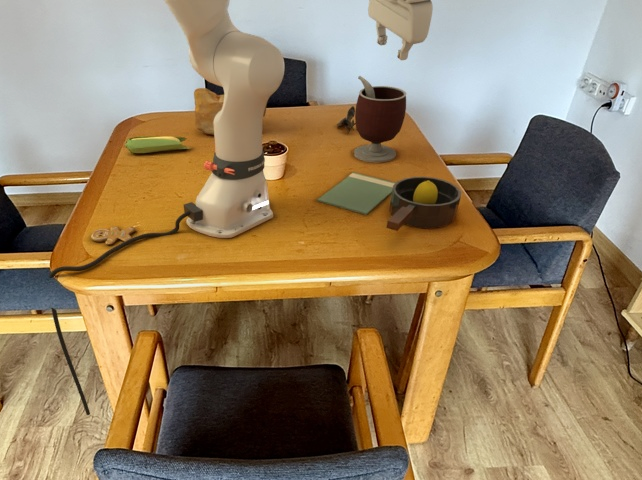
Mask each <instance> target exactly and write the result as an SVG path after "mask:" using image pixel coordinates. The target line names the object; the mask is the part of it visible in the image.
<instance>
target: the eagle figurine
mask: <svg viewBox="0 0 642 480" xmlns="http://www.w3.org/2000/svg"><path fill="white" fill-rule="evenodd" d="M355 111H356V107H355V106H351V107H350V108H349V109H348V111H347V114H346V116H344V117H343V118H341V120H339V122H338V123H336V126H337V127H338V126H344V127H345V129H347V132H346V134H347V135H349V133H350V132H351V131H352V130H353V131H354V130H355V128H354V127H355V126H356V124H355V119H354V118H355Z"/></svg>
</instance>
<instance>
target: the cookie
mask: <svg viewBox="0 0 642 480" xmlns="http://www.w3.org/2000/svg"><path fill="white" fill-rule="evenodd" d="M135 232H136V228H135V227H132V226H130V227H127V228H124V229H122V230H120V228H119V227H118V226H115V225H114V226H111V227H110V229H106V228H100V229H97V230H94V232H92V233H91V240H92V241H93V242H96V243H103V242H105V244H106V245H107V246H112V245H113V244H115V243H116V242H117V241H118V240H121V241H122V242H125V241H127V240H129V239H131V238H133V236H131V235H132V234H134V233H135Z"/></svg>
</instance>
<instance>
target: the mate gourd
mask: <svg viewBox="0 0 642 480" xmlns="http://www.w3.org/2000/svg"><path fill="white" fill-rule="evenodd" d="M357 78H358V80H360V81H361V83H362V85H363V88H362V89H360V90H359V92H358V97H357V100H356V104H355V115H354V123H355V124H356V125H355V130H356V131H357V133H358V135H359V136H360V138H361V139H363V140H365V141H367V142H370V144H364V145H360V146H358V147H356V148H355V149H354V150H353V155H354V157H355V158H356V159H357V160H360V161H363V162H367V163H376V164H377V163H386V162H390V161H392V160H394V159H395V158H396V155H397V152H396V150H395V149H394V148H392V147H389V146H388V145H382V144H383V143H385V142H390V141H392V140H393V139H394V138H395V137H396V136H397V135H398V134H399V133H400V132H401V130H402V127H403V124H404V121H405V117H406V111H407V92H406V91H405V90H404V89H402V88H399V87H394V86H389V85H388V86H387V85H376V86H373V85H372V84H371V83H370V82H369V81H368V80H367V79H365V77H362V76H361V75H359V76H358V77H357Z"/></svg>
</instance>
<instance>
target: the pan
mask: <svg viewBox="0 0 642 480" xmlns="http://www.w3.org/2000/svg"><path fill="white" fill-rule="evenodd" d="M428 180H429V181H430V182H432V183H434V184H435V185H436V187H437V191H438V196H437V201H436V203H435V204H432V205H429V204H420V203H416V202H413V196H414V192H415V190H416V188H417V186H418V185H419V184H421V183H422V182H425V181H428ZM461 198H462V190H461V189H460V187H458V186H457V185H455V184H454V183H452V182H450V181H448V180H445V179H442V178H438V177H431V176H410V177H406V178H405V177H404V178H402V179H399V180H397V181H396V182H395V184H394V185H393V189H392V193H391V194H390V202H389V208H388V212H389V214H390V216H391V217H392V216H393V215H394V214H395V213H396V212H397V211H398V210H399V209H400V208H401V207H407V206H408V205H409V204H413V205H416V209H415V210H414V211H413V213H412V217H411V218H410V219H409V220H408V221H407V222H406V223H405V224H404V225H406V226H409V227H412V228H419V229H436V228H441V227H442V228H443V227H446V226H447V225H450V224H452V223H453V222H454V221H455V220H456V217H457V214H458V210H459V206H460V202H461Z"/></svg>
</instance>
